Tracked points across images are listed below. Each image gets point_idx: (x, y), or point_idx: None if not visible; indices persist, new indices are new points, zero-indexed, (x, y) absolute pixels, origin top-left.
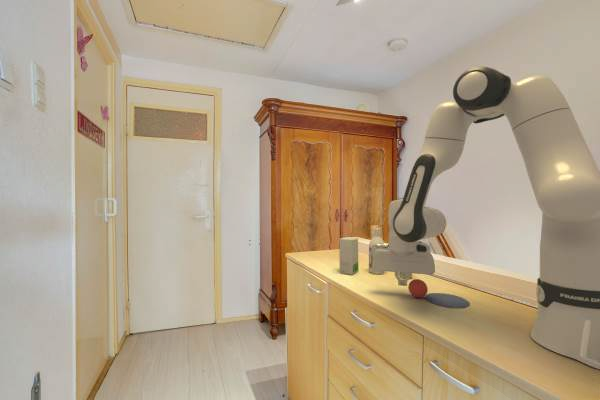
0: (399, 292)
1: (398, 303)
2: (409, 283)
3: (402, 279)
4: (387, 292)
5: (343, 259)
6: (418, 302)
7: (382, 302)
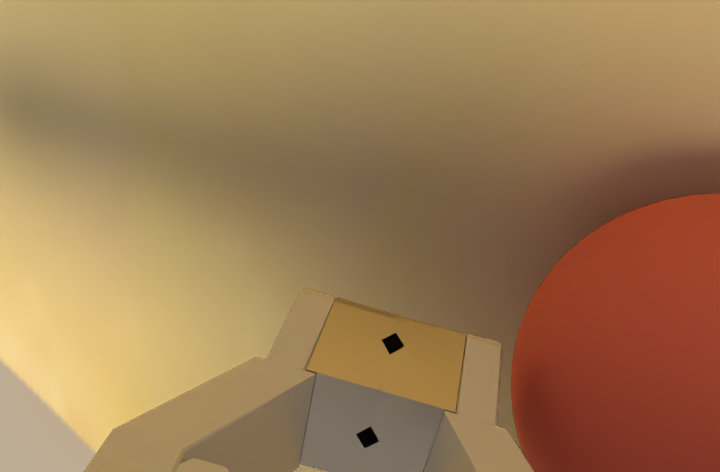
0: (408, 47)
1: None
2: (541, 418)
3: (377, 398)
4: (180, 74)
5: None
6: None
7: None
